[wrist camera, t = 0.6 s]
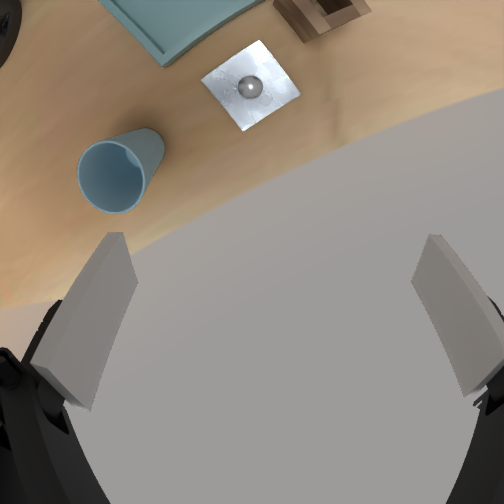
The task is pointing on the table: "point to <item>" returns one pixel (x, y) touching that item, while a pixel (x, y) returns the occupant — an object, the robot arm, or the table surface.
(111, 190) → the cup
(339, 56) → the table surface
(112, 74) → the table surface
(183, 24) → the tray
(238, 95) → the knob mounting plate
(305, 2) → the bored block
